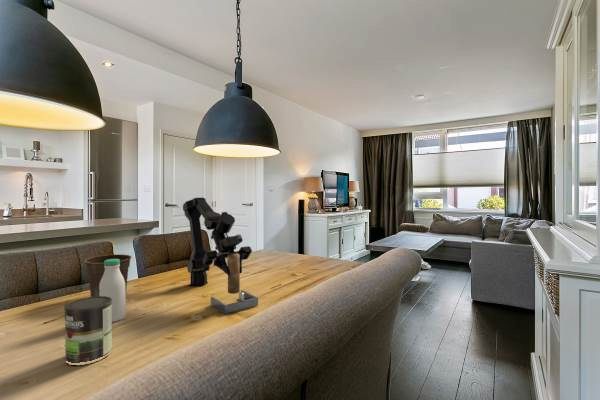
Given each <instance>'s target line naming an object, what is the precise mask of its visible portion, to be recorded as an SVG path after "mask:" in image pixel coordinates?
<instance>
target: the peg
mask: <svg viewBox="0 0 600 400" xmlns="http://www.w3.org/2000/svg"><path fill="white" fill-rule="evenodd" d="M227 266H228V268H229V271H230V275H227V293H228V294H231V295H232V294H239V293H241V290H240V288H241V287H240V286H241V281H240V280H241V279H240V274H241V273H240V255H239V254H229V255H228V258H227Z"/></svg>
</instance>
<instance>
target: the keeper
mask: <svg viewBox="0 0 600 400" xmlns="http://www.w3.org/2000/svg"><path fill="white" fill-rule="evenodd" d="M210 306H212V307H213V308H214V309H216V310H217V311H219V312H220V313H222V314H223V315H228V314H233V313H235V312H239V311H243V310H247V309H251V308H255V307H258V306H259V297H258V296H256V295H253V294H251V293H249V292H247V291H245V290H240V292H239V293H238V301H237V302H235V301H234V302H233V303H228V304H226V303H223V302H222V301H220V300H219V299H217V298H215V297H214V296H211V297H210Z"/></svg>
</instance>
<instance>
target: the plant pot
mask: <svg viewBox="0 0 600 400" xmlns="http://www.w3.org/2000/svg"><path fill="white" fill-rule="evenodd" d="M108 259H120V266H119V269H120V272H121V274H122V276H123V278H124V280H125V292H126V293H127V286H128V275H129V268H130V266H131V259H132V255H129V254H106V255H98V256H93V257H91V256H90V257H88V258H86V259H84V263H85V267H86V272H87V275H88V284H89V291H90V297H94V296H99V284H100V281H101V279H102V277H103V274H104V271H105V267H104V261H105V260H108Z"/></svg>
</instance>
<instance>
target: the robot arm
mask: <svg viewBox="0 0 600 400" xmlns="http://www.w3.org/2000/svg"><path fill="white" fill-rule="evenodd" d="M182 210H183V213H184V217H186V218H187V220H188V222H189V230H190V237H191V245H192V251H191V254H190V256H189V262H188V265H187V266H186V269H187V272H188V273H190V283H189V284H188V287H189V286H191V287H203V286H204V285H206V284H208V283H209V281H208V273H207V271H210V267H211V265H212V264H213V267H217V268H218V269H220V270H221V271H222V272H223V273H225V274H226V275H227V276H228V275H230V271H229V268H228V262H226V259H228V255H229V254H239V255H240V274H242V272H243V262H242V261H244V260H247V259H248V258H249V257H250V255H251V254H252V253H253V250H252V247H251V246H249V245H246V246H241V247H240V248H239V250H236V249H237V246H238V245H240V244H241V243H242V242H243V236H242V235H241V233H240V234H236V235H232V236H230V235H228V234H229V233H230V232H231V230H232V228H233V226H234V224H235V222H236V219H235V217H234V216H233V215H232V214H229V213H228V212H227V211H222V212H221V213H220V212H215V211H214V209H213V208H212V207H211V206H210V205H209V203H208V201H207V200H206V198H205V197H193V198H192V199H190V200H187V201H185V202H184V203H183V204H182ZM201 216H202V218H203V219H204V222H203V225H204V227H205V228H206V229H207V231H209V230H210V231H212V232H211V235H210V239H211V240H213V242H214V244H215V247H214V249H215V250H208V251H207V250H206V249H205V248H204V242H203V233H202V227H201V226H202V225H201ZM235 250H236V251H235Z"/></svg>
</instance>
